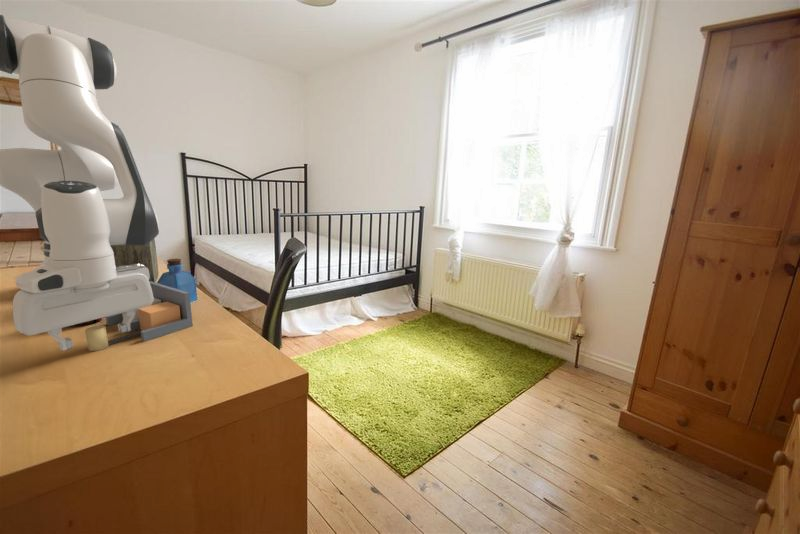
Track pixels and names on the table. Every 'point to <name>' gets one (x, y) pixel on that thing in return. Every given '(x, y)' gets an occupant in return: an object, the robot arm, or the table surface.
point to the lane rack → (164, 295)
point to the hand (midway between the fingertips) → (97, 339)
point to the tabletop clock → (138, 257)
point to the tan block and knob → (147, 319)
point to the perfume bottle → (179, 278)
